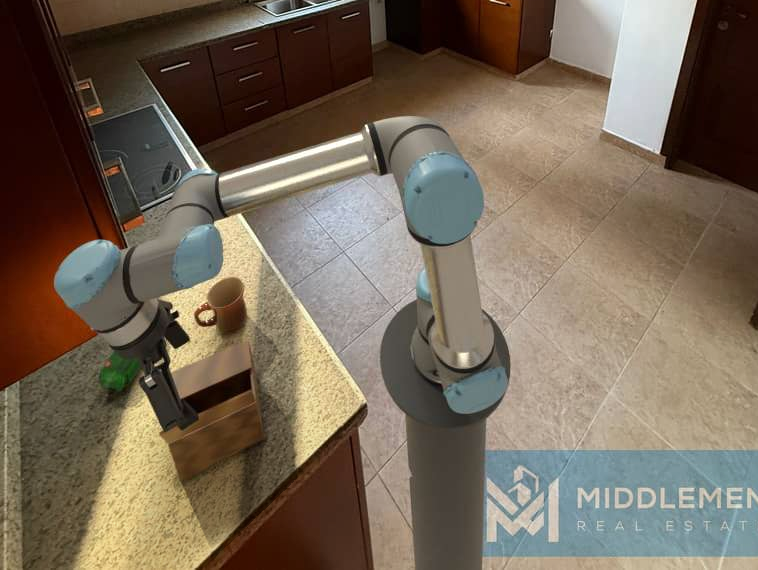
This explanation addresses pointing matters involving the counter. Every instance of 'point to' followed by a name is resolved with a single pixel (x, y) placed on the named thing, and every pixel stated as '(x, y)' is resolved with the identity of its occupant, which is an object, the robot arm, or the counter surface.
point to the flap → (211, 415)
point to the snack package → (118, 372)
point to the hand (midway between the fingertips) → (186, 380)
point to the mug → (225, 306)
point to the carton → (208, 389)
